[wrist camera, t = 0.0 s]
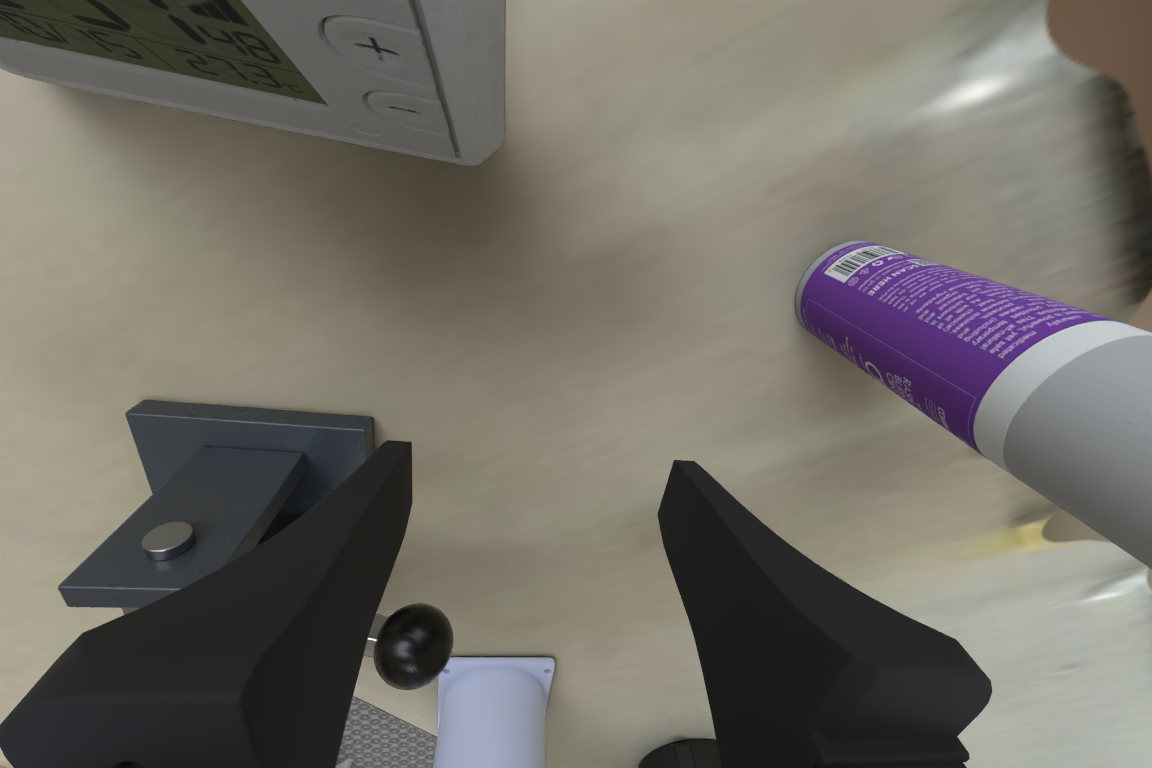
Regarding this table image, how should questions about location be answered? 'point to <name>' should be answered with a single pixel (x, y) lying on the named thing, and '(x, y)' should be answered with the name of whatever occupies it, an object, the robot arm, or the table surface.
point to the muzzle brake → (685, 755)
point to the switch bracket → (214, 493)
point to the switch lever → (407, 645)
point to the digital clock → (285, 64)
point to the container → (1002, 376)
